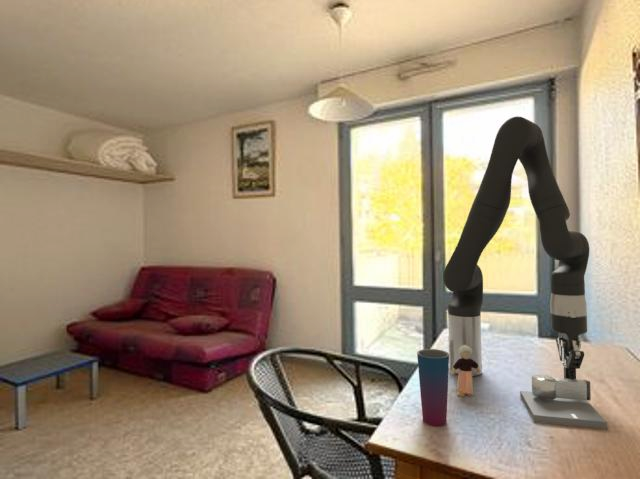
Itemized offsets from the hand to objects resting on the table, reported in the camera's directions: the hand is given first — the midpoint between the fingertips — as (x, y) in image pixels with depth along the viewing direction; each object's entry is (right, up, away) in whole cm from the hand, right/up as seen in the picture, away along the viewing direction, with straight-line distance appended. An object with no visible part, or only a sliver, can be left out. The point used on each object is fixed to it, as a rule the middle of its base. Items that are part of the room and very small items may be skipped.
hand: (570, 382), depth 94 cm
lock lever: (-5, -2, -4) cm, 7 cm away
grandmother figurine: (-24, -5, +5) cm, 25 cm away
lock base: (-7, -4, -6) cm, 10 cm away
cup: (-36, -5, -9) cm, 38 cm away
